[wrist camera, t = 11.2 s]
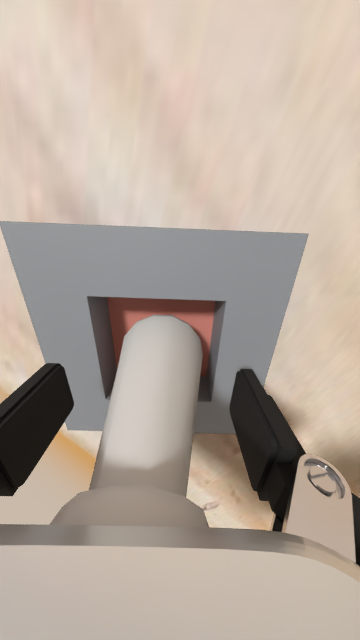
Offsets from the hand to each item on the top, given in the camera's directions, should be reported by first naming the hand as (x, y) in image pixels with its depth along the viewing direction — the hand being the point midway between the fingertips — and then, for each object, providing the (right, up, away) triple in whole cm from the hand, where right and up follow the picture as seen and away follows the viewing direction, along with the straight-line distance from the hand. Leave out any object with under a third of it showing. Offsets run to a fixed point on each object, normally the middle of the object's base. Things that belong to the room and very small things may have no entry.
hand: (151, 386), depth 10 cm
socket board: (0, +2, +5) cm, 6 cm away
